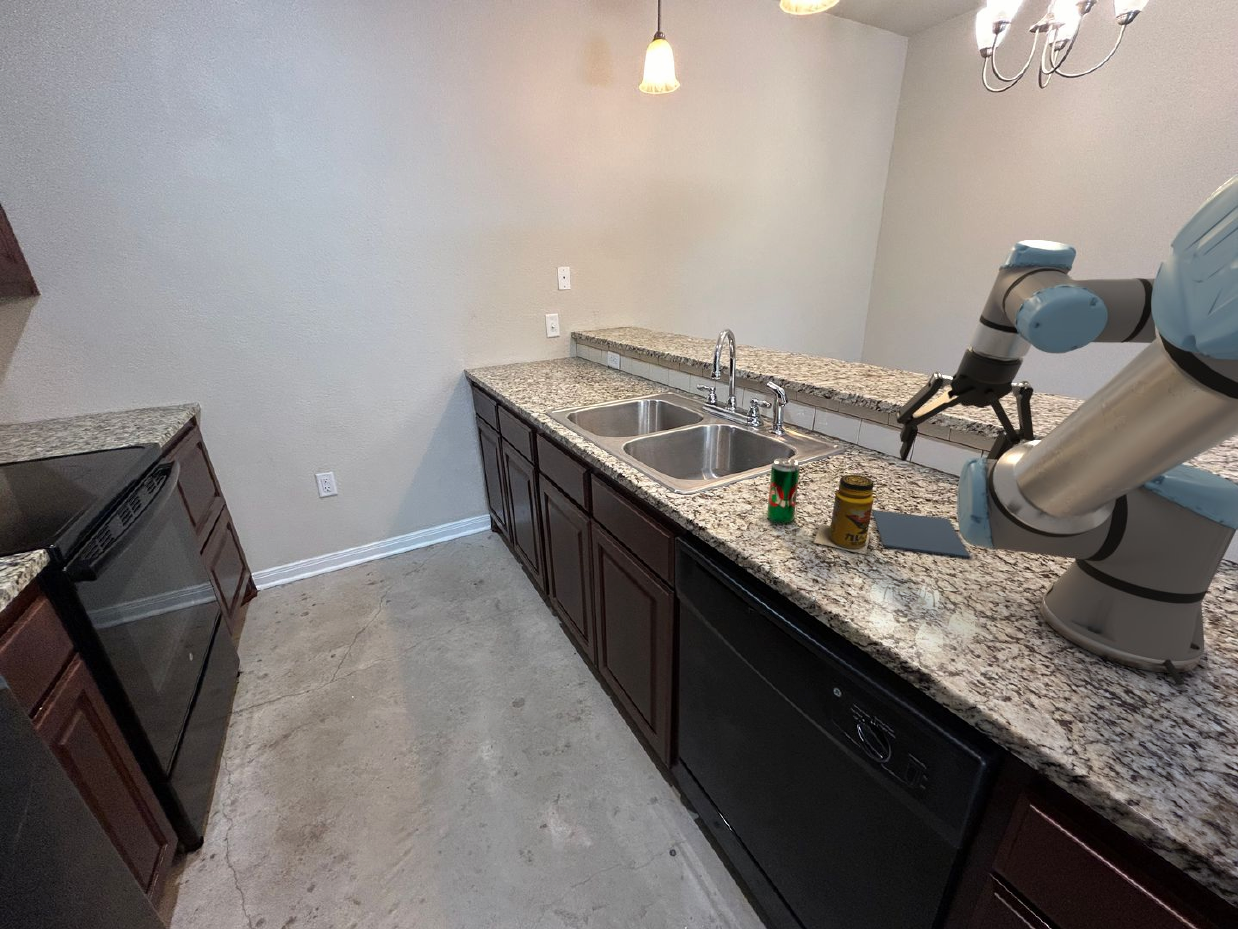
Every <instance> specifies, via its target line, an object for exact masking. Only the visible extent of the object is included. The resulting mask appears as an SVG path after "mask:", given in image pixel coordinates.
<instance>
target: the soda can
mask: <svg viewBox="0 0 1238 929" xmlns="http://www.w3.org/2000/svg"><path fill="white" fill-rule="evenodd" d="M800 470H801V467H800V466H799V461H797V460H796V459H793V458H790V457H778V458H775V459H774V460H773V463H772V465H771V468H770V480H769V481H770V482H769V490H768V491H769V492H768V500H767V501H768V502H767V511H766V516H767V518H768V519H769V520H770V521H771V522H773V523H777V524H781V525H783V524H790V523H791V522H793V521H794V519H795V513H796V504H797V496H798V489H799V480H800Z"/></svg>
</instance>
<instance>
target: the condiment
mask: <svg viewBox="0 0 1238 929" xmlns="http://www.w3.org/2000/svg"><path fill="white" fill-rule="evenodd" d="M874 486H875V483H874V481H873V480H872V479H871V478H869V477H867V476H865V475H864V476H863V475H860V474H846V475H842V477H841V478H840V479H839V485H838V489H837V490H836V491H835V495H834V502H833V508H832V514H831V520H830V526H829V525H827V524H819V528H818V530H817V533H816V536H815V538H814V541H813V543H814V544H820V545H823V546H827V547H833V548H837V549H839V550H844V551H848V552H853V553H858V554H862V555H865V554H866V555H867V551H868V545H869V540H870V536H871V535H870V534H869V526H870V524H871V516H872V512H873V505H874V500H875V499H874V496H873V493H874Z"/></svg>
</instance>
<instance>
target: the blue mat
mask: <svg viewBox="0 0 1238 929" xmlns="http://www.w3.org/2000/svg"><path fill="white" fill-rule="evenodd" d="M872 514H873V517H874V520H875V523H876V524H875V525H876V527H877V530H878V534H879V538H880V541H881V544H882V547H883V548H890V549H900V550H905V551H913V552H921V553H928V554H936V555H944V556H951V557H959V558H966V559H969V558H971V555H970V553H969V552H968V550H967V549H966V546H965V545H964V543H963V542H962V540H961V538H960V537H959V534H958V533H957V532H956V530H955V528H954V527H953V525H952V523H951V521H950V520H949V518H945V517H935V516H929V515H918V514H909V513H902V512H901V513H900V512H893V511H892V512H891V511H884V510H883V511H881V510H873V509H872Z"/></svg>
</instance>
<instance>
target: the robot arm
mask: <svg viewBox="0 0 1238 929" xmlns="http://www.w3.org/2000/svg"><path fill="white" fill-rule="evenodd" d="M1170 247H1171V248H1172V253H1171V255H1170V256H1169V257H1168V258H1167V259H1165V260H1162V262H1160V264H1159V268H1158V270H1157V273H1156V276H1155V277H1154V278H1150V277H1149V278H1142V277H1134V278H1132V277H1131V278H1129V277H1128V278H1073V277H1072V276H1070V275H1069V274H1068V273H1069V272H1071V271H1072V269H1073V264H1074V260H1075V259H1076V256H1077V250H1076V249H1075V247H1073V246H1071V245H1069V244H1065V243H1062V242H1057V241H1050V240H1038V239H1036V240H1035V239H1032V240H1029V239H1027V240H1021V241H1018V242H1016V243H1013V245H1012V246H1011V247H1010V248H1009V250H1008V251H1007V254H1006V256H1005V257H1004V260H1003V261H1002V263H1001V265H1000V266H999V268H998V273H997V275H996V278H995V281H994V282H993V285H992V288H991V290H990V291H989V292H990V293H989V294H988V297H987V300H986V302H985V305H984V307H983V309H982V311H981V314H980V316H979V319H978V321H977V323H976V327H975V328H974V330H973V333H972V335H971V338H970V340H969V342H968V343H969V344H968V345H969V346H967V347H966V349H965V351H964V354H963V356H962V358H961V361H960V363H959V365H958V368H957V371H956V372H955V374H953V375H952V376H949V375H945V374H944V375H943V374H942V373H941V371H934V372H933V373H932V374H931V376H930V378H929V380H928V381H927V383H926V384H925V385H924V386H923V387H922V388H921V389H920V390H918V391H917V392H916V393H915V394H914V395H913V396H912V397H911V398H910V399H909V400H908V401H906V403H904V404H903V405H902V406H901V407H900V408H899V409H898V410H897V411H896V412H895V419H896V423H897V424H900V425H901V424H902V428H901V430H900V433H899V439H900V442H901V443H902V444H901V447H900V449H899V455H900V460H901V461H907V459H908V457H909V454H910V452H911V449H912V447H913V444H914V442H915V440H916V437H917V435H918V432H919V428H918V426H919V425H921V424H922V423H924V422H926V421H928V420H929V419H931V418H933V417H935V416H937V415H938V414H940V413H941V412H944V411H946V410H947V409H949V408H954V407H956V406H957V405H959V404H960V405H961V406H962V407H975V408H979V409H984V408H985V407H990V406H991V408H992V410H993V412H994V413H995V415H996V417H997V419H998V421H999V423H1000V425H1001V426H1002V428H1003V430H1004V432H1005V433H1006V434H1005V433H1000V432H999V433H998V435H997V437H996V438H995V441H994V443H993V445H992V446H991V449H990V450H989V452H988V455H987V456H986V457H985V456H982V457H972V458H969V459H967V460H966V461H965V462H964V463H963V466H962V468H961V471H960V474H959V480H958V486H957V496H956V498H957V499H956V512H957V513H956V514H957V525H958V529H959V532H960V536H961V537H962V539H963V540H964V541H965V542H966V543H967V544H969V545H972V546H975V547H979V548H980V547H981V548H984V549H989V550H990V551H995V550H1002V551H1011V552H1019V553H1026V554H1027V553H1028V554H1035V555H1043V556H1051V557H1057V558H1058V557H1059V558H1067V559H1074V561H1073V563H1072V564H1071V565H1070V566H1069V567H1068V568H1067V569H1066V570H1065V571H1064V572H1063V573H1062V574H1061V575H1060V576H1059V578H1057V580H1056V581H1055V579H1053V580H1052V581H1051V582H1050V583H1049V584H1048V586H1047V588H1046V591H1045V592H1044V593H1043V596H1042V599H1041V602H1040V605H1039V611H1040V615H1041V617H1042V618H1043V619H1044V621H1045V622H1046V623H1047V624H1048V625H1049V626H1050V627H1051V628H1052V629H1053V630H1054V631H1055V632H1057V633H1058V634H1059V635H1061V636H1062V637H1063V638H1065V639H1066V640H1068V641H1070V642H1071V643H1073V644H1075V645H1076V646H1079V647H1080V648H1082V649H1083V650H1086V651H1088V652H1090V653H1092V654H1094V655H1097V656H1099V657H1102V658H1104V659H1106V660H1109V661H1112V662H1115V663H1117V664H1121V665H1124V666H1127V667H1131V668H1135V669H1139V670H1144V671H1150V672H1156V673H1167V674H1169V676H1170V677H1171V679H1172V680H1173V682H1174V684H1175V685H1176V686H1184V685H1186V683H1185V681H1184V679H1183V678H1182V677H1181V675H1180V673H1184V672H1189V671H1191V670H1193V669H1195V668H1196V667H1197V666H1198V665H1199V663H1200V661H1201V659H1202V657H1203V654H1204V653H1205V634H1204V619H1203V606H1202V604H1203V601H1204V598H1205V596H1206V594H1207V593H1208V591H1209V588H1210V586H1211V584H1212V583H1213V580H1214V578H1215V576H1216V574H1217V572H1218V569H1219V568H1220V566H1221V564H1222V562H1223V560H1224V557H1225V555H1226V553H1227V551H1228V549H1229V548H1230V544H1231V542H1232V540H1233V538H1234V537H1235V534H1236V532H1237V531H1238V484H1237V483H1234V482H1233V481H1230V480H1229V479H1227V478H1225V477H1222V476H1220V475H1217V474H1215V473H1212V472H1210V471H1207V470H1204V469H1201V468H1197V467H1194V466H1191V465H1187V464H1185V463H1186V462H1188V461H1190V460H1192V459H1193V458H1195V457H1198V456H1199V455H1201V454H1203V453H1205V452H1207V451H1209V450H1211V449H1213V448H1214V447H1216V446H1218V445H1220V444H1222V443H1223V442H1226V441H1227V440H1230V439H1232V438H1233V437H1235V436H1237V435H1238V173H1236V174H1234V175H1233V176H1232V177H1231V178H1229V179H1228V180H1227V181H1226V182H1224V183H1223V184H1222V185H1221V186H1219V187H1218V188H1217V189H1216V190H1215V191H1213V192H1212V193H1211V195H1209V196H1208V197H1207V198H1206V199H1205V200H1204V201H1203V202H1202V203H1201V204H1200V205H1199V206H1198V207H1197V208H1196V209H1195V211H1194V212H1192V214H1191V215H1190V217H1189V218H1187V220H1186V221H1185V222H1184V224H1183V225H1182V226H1181V228H1180V229H1179V231H1178V232H1177V234H1176V235H1175V237H1174V238H1173V240H1172V241H1171V243H1170ZM1092 343H1105V344H1107V343H1108V344H1110V343H1113V344H1114V343H1115V344H1116V343H1118V344H1119V343H1120V344H1123V343H1131V344H1132V343H1137V344H1138V343H1139V344H1148V345H1147V346H1145V347H1144V348H1143V350H1141V351H1140V352H1139V353H1138V354H1137V355H1135V357H1134V358H1132V359H1131V360H1130V361H1129V362H1128V363H1126V364H1125V365H1124V366H1123V367H1122V368H1120V370H1119V371H1118V372H1116V373H1115V374H1114V375H1113V376H1111V378H1109V379H1108V380H1107V381H1106V382H1105V383H1104V384H1103V385H1102V386H1100V388H1098V389H1097V390H1096V391H1095V392H1094V393H1092V394H1091V395H1090V397H1088V398H1087V399H1085V401H1084V402H1082V404H1080V405H1079V406H1078V407H1076V408H1075V409H1074V410H1073V411H1072V412H1071V413H1070V414H1069V415H1068V416H1066V418H1064V419H1063V420H1061V422H1060V423H1058V424H1057V425H1056V426H1055V427H1054V428H1053V429H1052V430H1051V431H1050V432H1048V433H1047V434H1046V435H1045V436H1044V437H1043V438H1041V439H1039V440H1033V439H1034V437H1035V435H1034V434H1035V433H1034V426H1033V417H1032V408H1031V400H1032V396H1033V394H1034V391H1035V390H1034V388H1033V387H1032V385H1031V384H1030V383H1029V381H1027V380H1022V381H1021V382H1019V383H1013V381H1014V380H1015V378H1016V377H1017V374H1018V373H1019V370H1020V368H1021V367H1022V364H1023V362H1024V358H1023V357H1025V356H1027V354H1028V353H1029V351H1030V349H1031V347H1032V346H1033V347H1034V348H1035V349H1037V350H1039V351H1040V352H1044V353H1047V354H1056V355H1057V354H1060V355H1061V354H1066V353H1069V352H1073V351H1075V350H1078V349H1082V348H1084V347H1087V345H1090V344H1092ZM946 386H950V388H949V389H947V390H946V391H945V392H943V393H942V395H940V396H939V397H936V398H935V399H933V400H932V401H930V400H931V399H932V398H933V397H934V396H935V395H937V393H938V392H939V391H940V390H943V389H944V388H945V387H946ZM1010 393H1012V395H1013V397H1014V398H1015V402H1016V410H1017V419H1018V426H1019V428H1017V429H1015V428H1014V426H1013V423H1012V422H1011V419H1010V418H1009V416H1008V414H1007V413H1006V411H1005V409H1004V407H1003V405H1002V403H1001V401H1000V400H1001V399H1002V398H1004V397H1006V396H1007V395H1009V394H1010ZM929 401H930V402H929ZM927 402H928V403H927ZM926 403H927V404H926ZM1022 440H1025V441H1026V442H1023V443H1021V441H1022Z"/></svg>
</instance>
